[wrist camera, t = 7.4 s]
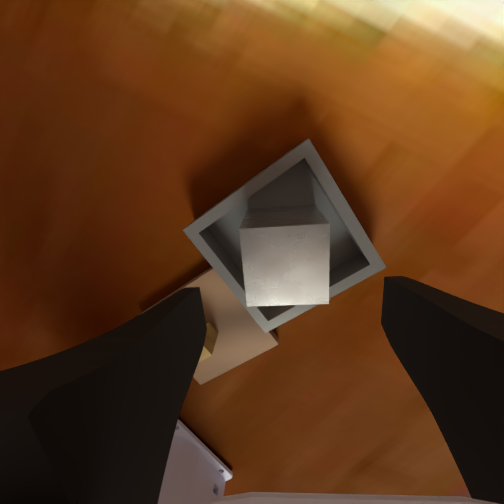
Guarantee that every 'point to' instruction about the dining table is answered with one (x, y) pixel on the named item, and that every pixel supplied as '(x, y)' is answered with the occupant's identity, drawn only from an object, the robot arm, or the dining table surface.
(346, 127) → the dining table surface
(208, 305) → the stud plate
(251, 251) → the grey block
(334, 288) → the bin
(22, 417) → the robot arm
